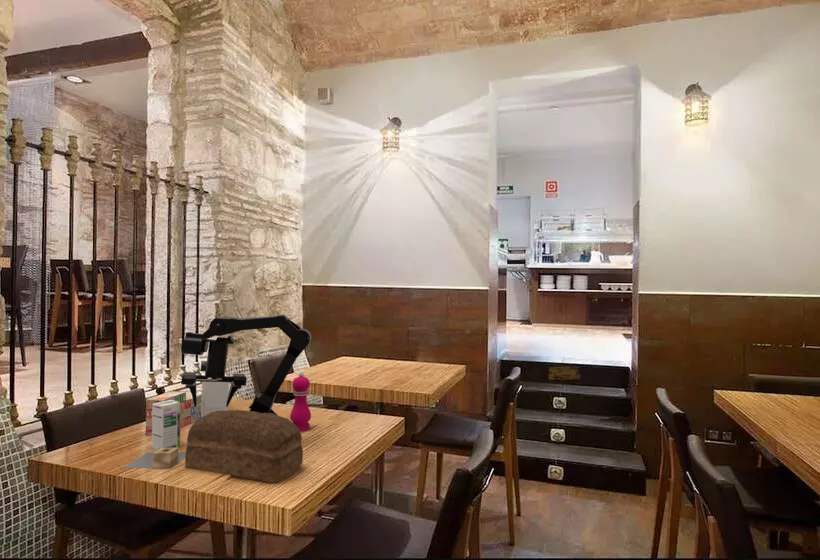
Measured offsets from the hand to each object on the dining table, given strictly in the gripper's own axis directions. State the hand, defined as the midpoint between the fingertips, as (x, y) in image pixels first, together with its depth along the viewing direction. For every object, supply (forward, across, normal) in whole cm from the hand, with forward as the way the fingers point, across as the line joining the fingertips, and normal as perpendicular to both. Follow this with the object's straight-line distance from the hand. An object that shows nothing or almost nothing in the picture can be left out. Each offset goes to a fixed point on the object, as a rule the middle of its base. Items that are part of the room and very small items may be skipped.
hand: (211, 406), depth 148 cm
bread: (+11, -9, +23) cm, 27 cm away
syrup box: (+14, +11, -2) cm, 18 cm away
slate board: (+13, +13, +10) cm, 21 cm away
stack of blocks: (+14, +10, -27) cm, 32 cm away
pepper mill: (+10, -31, -8) cm, 33 cm away
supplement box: (+14, -4, -40) cm, 43 cm away
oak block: (+12, +11, +15) cm, 22 cm away
